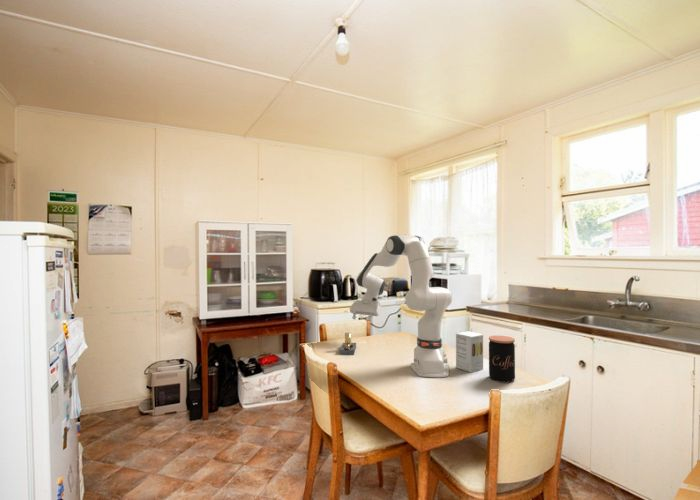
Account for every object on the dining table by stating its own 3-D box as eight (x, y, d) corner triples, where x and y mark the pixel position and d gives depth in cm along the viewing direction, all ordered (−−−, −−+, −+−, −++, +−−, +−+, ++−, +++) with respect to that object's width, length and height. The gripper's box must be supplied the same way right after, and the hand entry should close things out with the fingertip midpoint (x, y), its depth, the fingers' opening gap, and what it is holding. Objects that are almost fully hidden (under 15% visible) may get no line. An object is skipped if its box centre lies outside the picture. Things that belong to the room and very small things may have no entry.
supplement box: (471, 373, 164) (470, 336, 164) (455, 367, 172) (455, 333, 172) (484, 369, 169) (483, 334, 169) (468, 364, 177) (467, 330, 177)
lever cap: (351, 351, 201) (350, 334, 201) (344, 351, 201) (344, 333, 201) (351, 349, 204) (351, 332, 204) (345, 349, 205) (345, 332, 205)
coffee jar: (490, 381, 153) (489, 340, 153) (488, 373, 163) (487, 334, 163) (517, 384, 150) (516, 341, 150) (513, 375, 160) (512, 336, 160)
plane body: (353, 354, 194) (353, 345, 194) (339, 354, 195) (339, 345, 195) (356, 347, 210) (356, 338, 210) (343, 346, 211) (342, 338, 211)
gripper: (353, 297, 225) (344, 314, 217) (380, 299, 213) (372, 318, 205) (357, 303, 229) (348, 320, 221) (384, 305, 217) (376, 324, 209)
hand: (360, 319), depth 213 cm, fingers open, 8 cm apart
